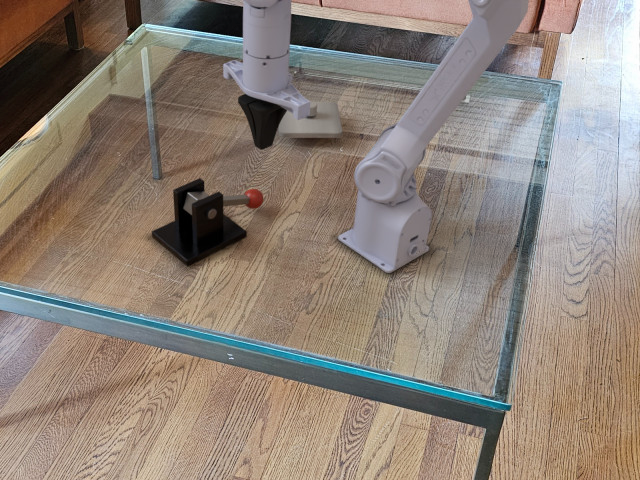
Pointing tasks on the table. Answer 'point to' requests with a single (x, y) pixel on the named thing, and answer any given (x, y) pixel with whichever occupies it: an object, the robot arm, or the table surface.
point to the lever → (228, 199)
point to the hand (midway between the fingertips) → (263, 145)
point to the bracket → (198, 226)
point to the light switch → (313, 122)
